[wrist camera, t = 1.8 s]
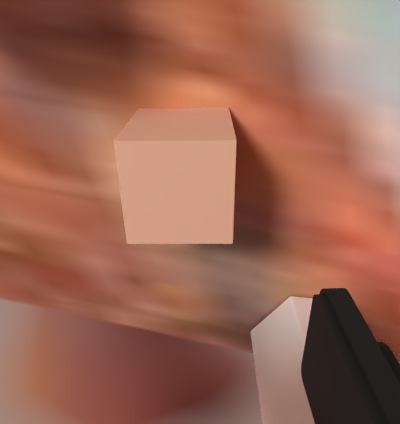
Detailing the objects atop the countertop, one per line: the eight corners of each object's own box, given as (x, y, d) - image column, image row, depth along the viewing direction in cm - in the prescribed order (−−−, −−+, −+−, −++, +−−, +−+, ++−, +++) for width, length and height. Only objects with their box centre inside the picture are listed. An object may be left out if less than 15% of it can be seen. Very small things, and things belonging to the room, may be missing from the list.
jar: (304, 385, 31) (354, 577, 20) (230, 344, 28) (243, 536, 18) (387, 325, 27) (501, 521, 17) (310, 273, 25) (385, 461, 14)
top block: (228, 107, 20) (236, 140, 14) (226, 189, 22) (232, 243, 17) (138, 108, 20) (113, 141, 14) (146, 190, 22) (127, 244, 17)
